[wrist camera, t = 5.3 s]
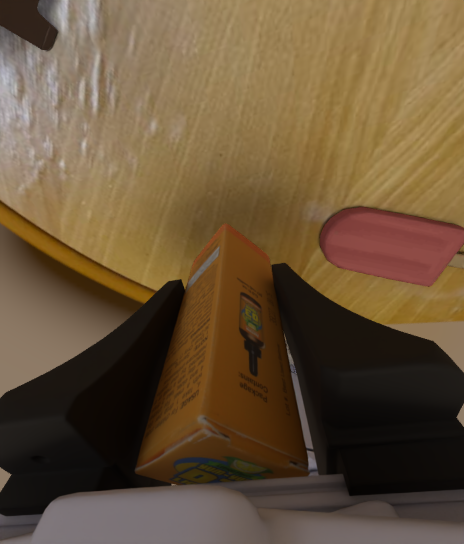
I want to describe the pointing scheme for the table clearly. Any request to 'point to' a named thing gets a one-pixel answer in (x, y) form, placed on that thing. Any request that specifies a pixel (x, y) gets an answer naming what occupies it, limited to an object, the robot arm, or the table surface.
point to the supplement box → (226, 378)
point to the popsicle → (392, 245)
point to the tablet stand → (27, 22)
